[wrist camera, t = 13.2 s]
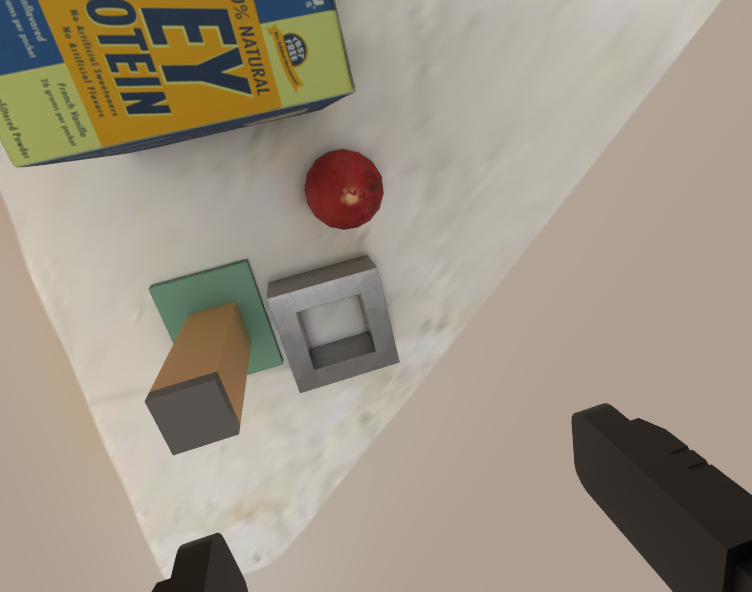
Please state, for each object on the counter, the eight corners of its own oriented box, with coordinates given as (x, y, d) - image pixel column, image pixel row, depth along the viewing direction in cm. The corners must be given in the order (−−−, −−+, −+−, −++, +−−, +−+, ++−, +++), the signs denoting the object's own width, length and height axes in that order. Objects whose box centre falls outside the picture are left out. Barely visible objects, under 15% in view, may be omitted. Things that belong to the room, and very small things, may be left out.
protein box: (60, -7, 29) (-154, -144, 15) (290, -50, 31) (299, -209, 16) (126, 156, 33) (9, 173, 19) (327, 110, 35) (361, 94, 20)
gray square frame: (268, 283, 38) (267, 299, 35) (367, 255, 39) (376, 267, 35) (298, 370, 42) (299, 393, 38) (389, 342, 43) (399, 362, 39)
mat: (151, 285, 36) (148, 288, 36) (247, 259, 37) (246, 261, 36) (196, 386, 40) (195, 390, 39) (283, 360, 41) (283, 364, 40)
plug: (188, 315, 37) (144, 401, 25) (235, 301, 37) (215, 379, 25) (206, 355, 38) (173, 455, 26) (251, 342, 39) (238, 434, 27)
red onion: (367, 142, 36) (389, 145, 29) (377, 212, 38) (401, 231, 31) (296, 154, 35) (300, 160, 28) (310, 225, 37) (318, 248, 30)
